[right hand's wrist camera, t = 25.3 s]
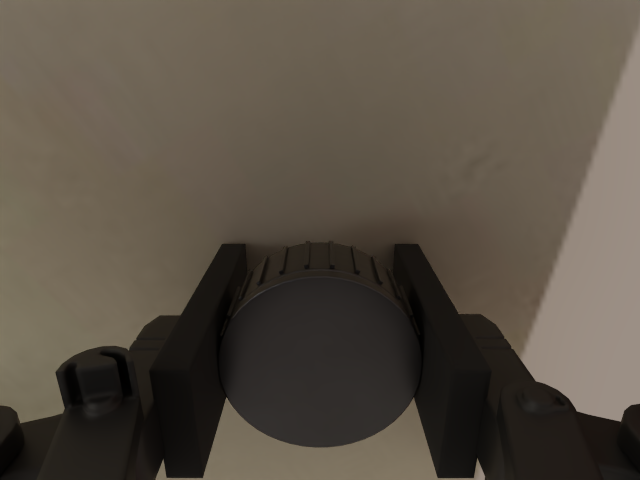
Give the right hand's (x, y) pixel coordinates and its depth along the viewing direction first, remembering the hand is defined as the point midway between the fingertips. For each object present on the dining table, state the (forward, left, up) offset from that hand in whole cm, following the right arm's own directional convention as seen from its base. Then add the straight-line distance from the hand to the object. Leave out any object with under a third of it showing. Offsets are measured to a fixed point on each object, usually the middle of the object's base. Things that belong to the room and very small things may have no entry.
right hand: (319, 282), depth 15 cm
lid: (0, 0, +4) cm, 4 cm away
